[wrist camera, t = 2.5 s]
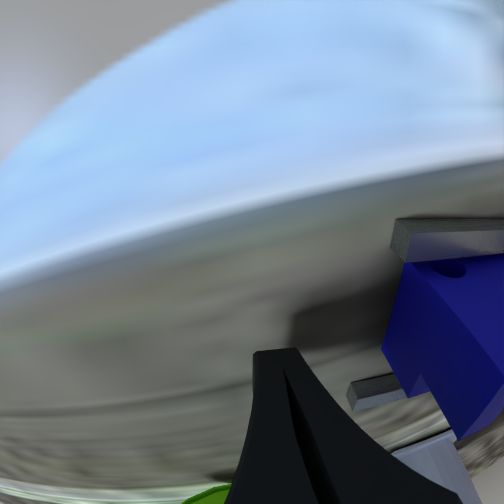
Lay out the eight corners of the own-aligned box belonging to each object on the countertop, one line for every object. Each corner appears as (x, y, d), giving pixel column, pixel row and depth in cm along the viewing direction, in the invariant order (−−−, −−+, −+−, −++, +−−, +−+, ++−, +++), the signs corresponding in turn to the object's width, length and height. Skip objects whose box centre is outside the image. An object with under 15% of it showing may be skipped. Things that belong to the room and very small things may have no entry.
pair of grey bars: (521, 340, 16) (529, 349, 15) (346, 395, 14) (352, 411, 13) (573, 220, 11) (585, 227, 10) (395, 219, 10) (411, 233, 9)
